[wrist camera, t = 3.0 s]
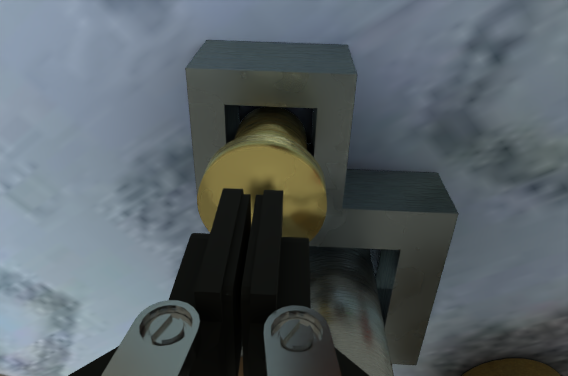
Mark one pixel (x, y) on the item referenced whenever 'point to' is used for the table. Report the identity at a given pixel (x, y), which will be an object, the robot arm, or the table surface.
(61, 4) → the table surface
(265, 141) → the knob
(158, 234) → the table surface
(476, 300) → the table surface
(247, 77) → the socket
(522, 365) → the plant pot
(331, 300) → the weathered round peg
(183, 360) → the robot arm
